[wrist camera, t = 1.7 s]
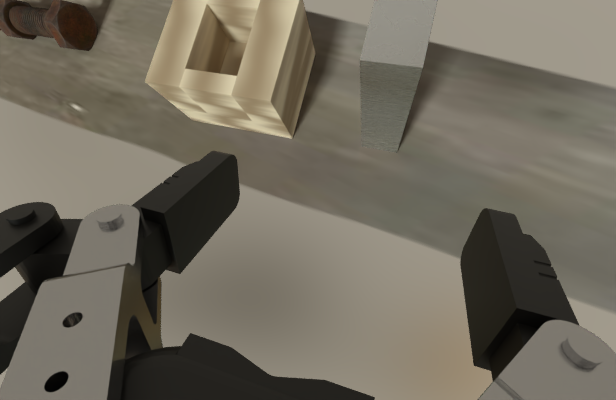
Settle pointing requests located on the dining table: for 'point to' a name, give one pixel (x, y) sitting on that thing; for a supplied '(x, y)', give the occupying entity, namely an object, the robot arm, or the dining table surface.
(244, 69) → the open beige box
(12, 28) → the bolt
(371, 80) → the tall grey square pillar
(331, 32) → the dining table surface
